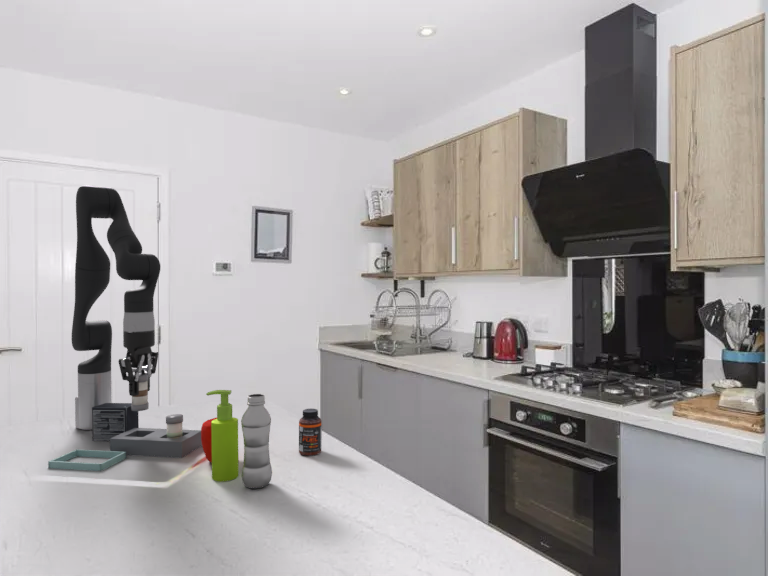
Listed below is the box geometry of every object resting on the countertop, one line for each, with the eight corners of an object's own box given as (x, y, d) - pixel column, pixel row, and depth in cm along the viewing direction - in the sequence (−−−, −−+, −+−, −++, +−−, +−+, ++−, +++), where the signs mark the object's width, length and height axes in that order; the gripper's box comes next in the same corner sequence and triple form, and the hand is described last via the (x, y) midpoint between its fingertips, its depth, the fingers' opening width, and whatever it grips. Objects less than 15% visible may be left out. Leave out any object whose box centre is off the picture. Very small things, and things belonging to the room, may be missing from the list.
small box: (140, 438, 149) (140, 402, 149) (126, 445, 142) (126, 407, 142) (106, 437, 150) (105, 401, 150) (91, 444, 143) (90, 407, 143)
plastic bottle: (277, 482, 115) (277, 393, 115) (261, 493, 109) (260, 400, 109) (253, 478, 117) (252, 391, 117) (235, 490, 111) (234, 397, 111)
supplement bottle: (300, 457, 131) (300, 413, 131) (297, 450, 137) (296, 408, 137) (323, 455, 133) (323, 411, 133) (319, 448, 139) (318, 406, 139)
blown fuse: (127, 410, 135) (127, 376, 134) (137, 406, 139) (137, 373, 139) (142, 411, 134) (141, 377, 134) (151, 407, 138) (151, 374, 138)
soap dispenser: (210, 472, 121) (210, 388, 121) (240, 471, 122) (239, 387, 122) (204, 482, 115) (203, 393, 115) (235, 481, 116) (234, 392, 116)
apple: (233, 466, 125) (232, 422, 125) (196, 467, 125) (196, 423, 125) (240, 454, 134) (240, 413, 134) (206, 455, 134) (206, 414, 133)
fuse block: (110, 457, 132) (109, 419, 132) (135, 445, 142) (134, 409, 142) (182, 461, 129) (181, 422, 129) (202, 448, 139) (201, 412, 139)
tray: (48, 471, 122) (48, 461, 122) (76, 459, 131) (76, 449, 131) (101, 475, 120) (101, 464, 120) (126, 461, 129) (126, 451, 129)
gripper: (142, 326, 143) (143, 387, 144) (107, 331, 129) (108, 399, 130) (167, 326, 142) (168, 388, 143) (134, 332, 128) (135, 400, 129)
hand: (139, 393), depth 136 cm, fingers closed on blown fuse, 4 cm apart
